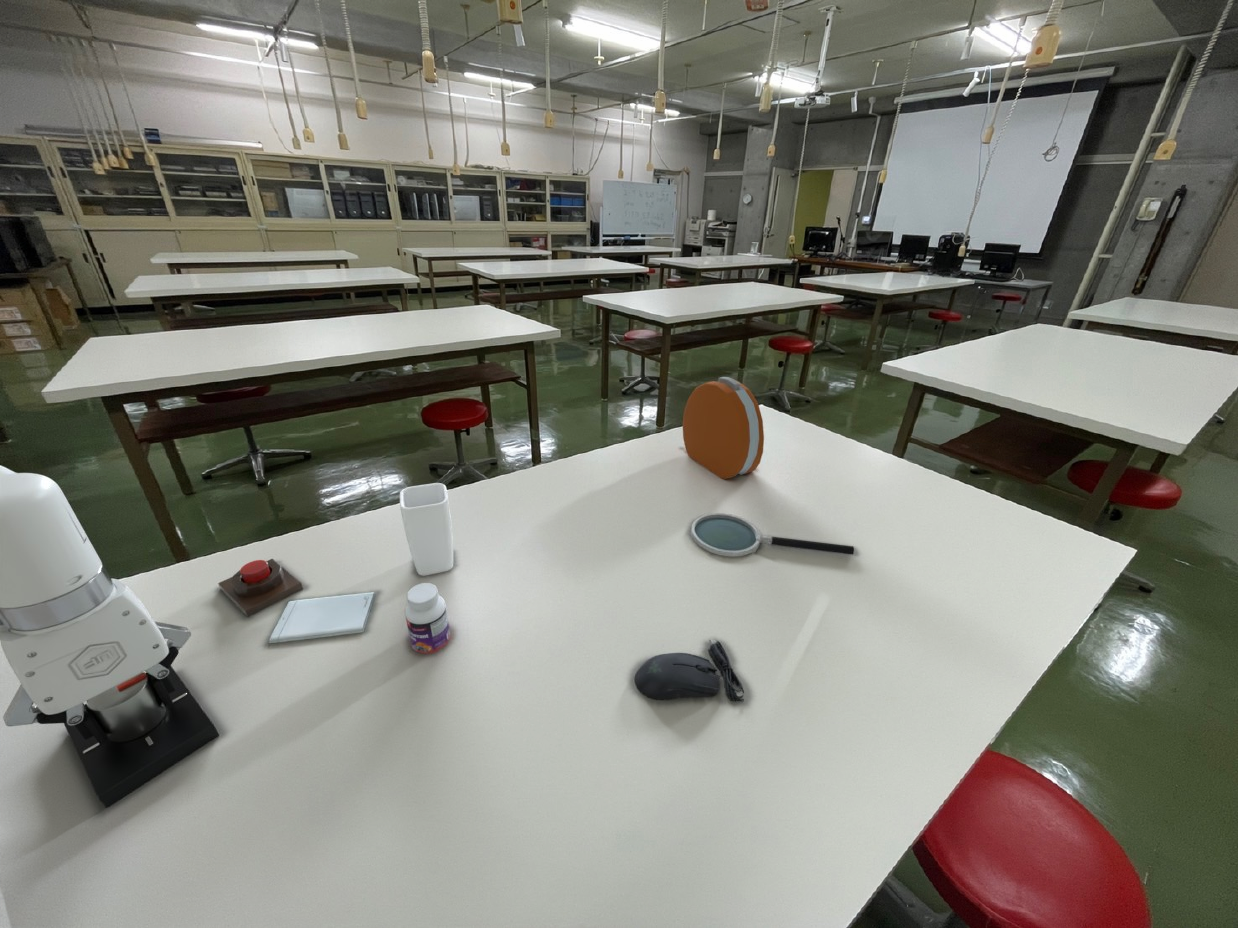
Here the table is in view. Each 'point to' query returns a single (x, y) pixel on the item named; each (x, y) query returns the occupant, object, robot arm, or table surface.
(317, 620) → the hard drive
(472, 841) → the table surface
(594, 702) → the table surface
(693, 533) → the magnifying glass
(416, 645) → the pill bottle
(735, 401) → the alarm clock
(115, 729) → the knob
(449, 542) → the cup
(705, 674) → the computer mouse
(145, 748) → the rotary dial switch
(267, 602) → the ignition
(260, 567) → the button
